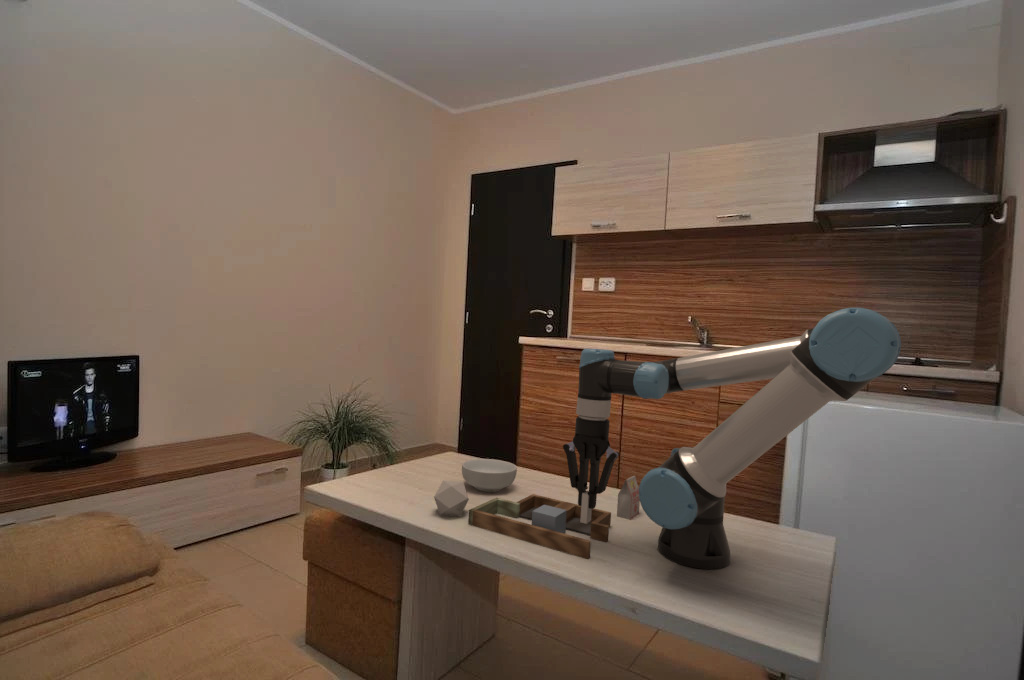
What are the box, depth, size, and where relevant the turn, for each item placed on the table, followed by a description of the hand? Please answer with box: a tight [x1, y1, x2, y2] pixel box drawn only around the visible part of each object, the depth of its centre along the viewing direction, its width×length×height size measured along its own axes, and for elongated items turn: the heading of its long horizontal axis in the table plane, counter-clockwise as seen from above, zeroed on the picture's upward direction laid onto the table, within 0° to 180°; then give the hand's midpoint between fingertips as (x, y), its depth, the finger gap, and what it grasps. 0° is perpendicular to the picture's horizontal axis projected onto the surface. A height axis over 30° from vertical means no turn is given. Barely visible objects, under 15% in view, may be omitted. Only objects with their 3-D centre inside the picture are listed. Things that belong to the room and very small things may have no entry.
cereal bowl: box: [461, 458, 518, 493], centre depth 154 cm, size 17×17×7 cm
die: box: [433, 480, 469, 517], centre depth 130 cm, size 8×9×10 cm
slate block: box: [531, 505, 567, 534], centre depth 119 cm, size 6×6×6 cm
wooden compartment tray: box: [467, 493, 612, 560], centre depth 124 cm, size 31×22×4 cm
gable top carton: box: [616, 475, 641, 520], centre depth 136 cm, size 4×7×10 cm, turn 146°
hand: (585, 521), depth 114 cm, fingers closed
